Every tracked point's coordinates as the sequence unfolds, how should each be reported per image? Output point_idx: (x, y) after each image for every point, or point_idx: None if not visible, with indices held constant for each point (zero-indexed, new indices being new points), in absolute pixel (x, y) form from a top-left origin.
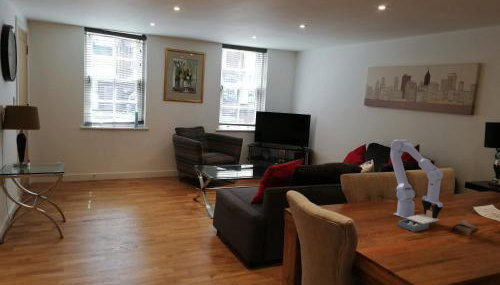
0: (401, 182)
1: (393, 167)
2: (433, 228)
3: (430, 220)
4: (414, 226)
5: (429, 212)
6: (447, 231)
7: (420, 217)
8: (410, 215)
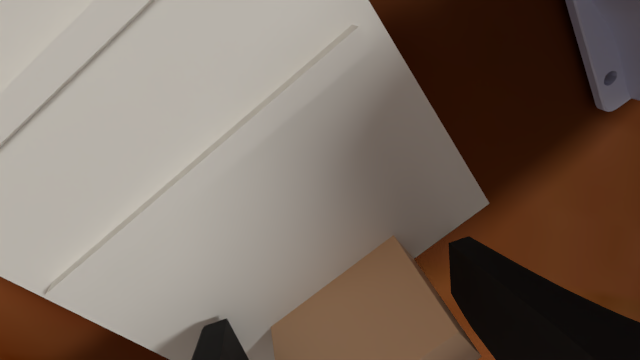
0: None
1: None
2: None
3: (47, 259)
4: None
5: (371, 347)
6: (45, 357)
7: (216, 82)
8: (610, 17)
